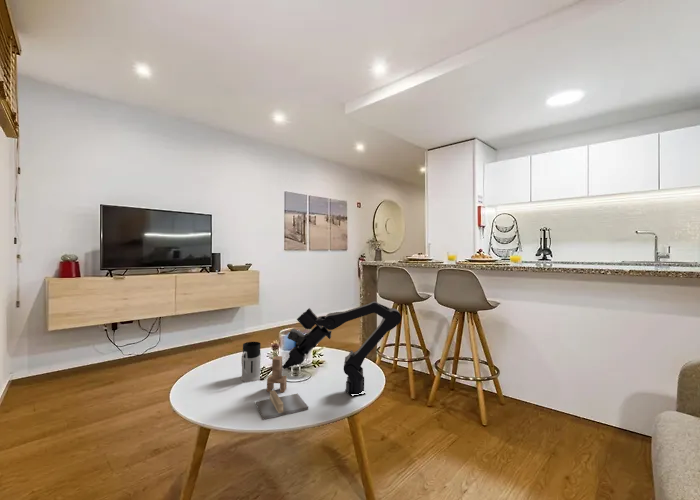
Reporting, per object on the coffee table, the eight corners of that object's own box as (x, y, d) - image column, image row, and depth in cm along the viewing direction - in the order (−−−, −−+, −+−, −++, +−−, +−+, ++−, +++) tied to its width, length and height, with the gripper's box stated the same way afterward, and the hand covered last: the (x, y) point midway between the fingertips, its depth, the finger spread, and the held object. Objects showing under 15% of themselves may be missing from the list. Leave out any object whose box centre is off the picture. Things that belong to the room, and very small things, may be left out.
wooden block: (286, 388, 135) (287, 356, 135) (284, 392, 131) (284, 359, 131) (269, 387, 135) (270, 356, 135) (266, 391, 131) (267, 359, 131)
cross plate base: (297, 396, 128) (297, 385, 128) (308, 409, 117) (308, 398, 117) (255, 404, 120) (255, 393, 120) (263, 419, 110) (263, 407, 110)
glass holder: (264, 374, 149) (264, 341, 149) (251, 387, 135) (252, 351, 135) (245, 373, 150) (246, 340, 150) (231, 386, 136) (232, 350, 136)
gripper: (304, 318, 142) (278, 342, 143) (295, 328, 124) (265, 356, 124) (321, 337, 142) (295, 361, 142) (315, 350, 123) (285, 378, 124)
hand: (286, 363), depth 133 cm, fingers open, 9 cm apart
